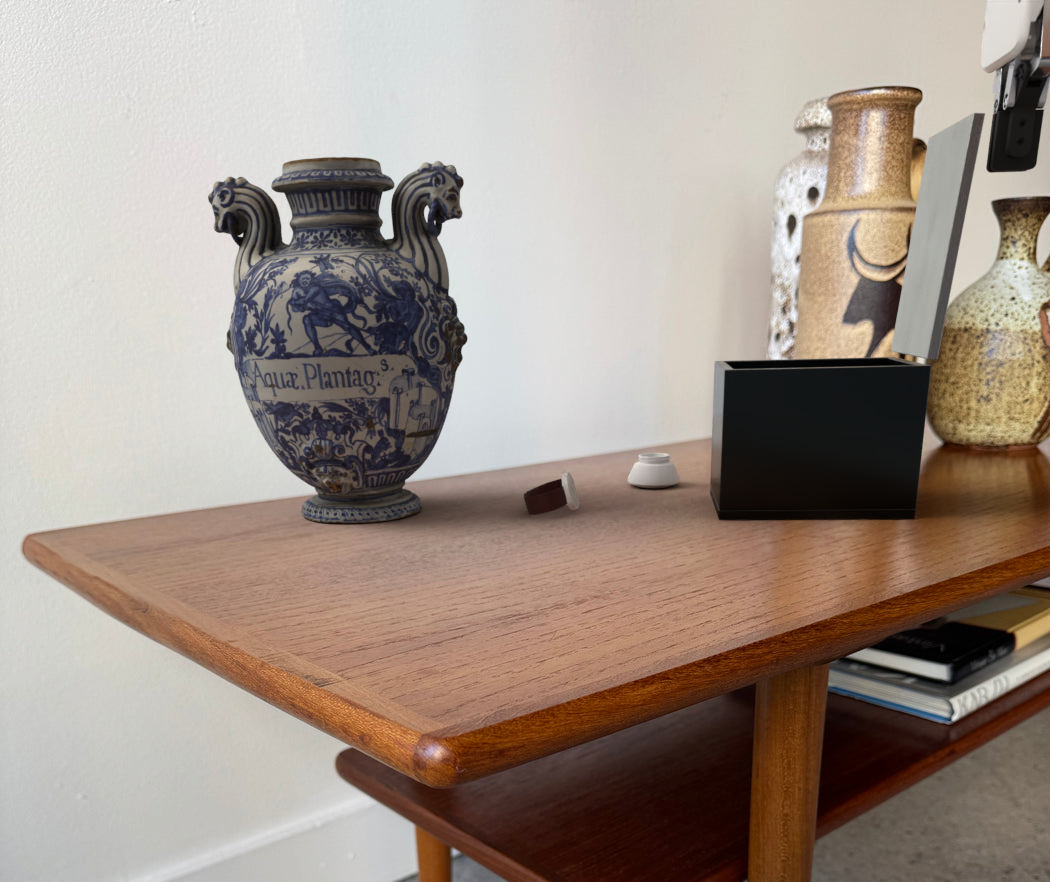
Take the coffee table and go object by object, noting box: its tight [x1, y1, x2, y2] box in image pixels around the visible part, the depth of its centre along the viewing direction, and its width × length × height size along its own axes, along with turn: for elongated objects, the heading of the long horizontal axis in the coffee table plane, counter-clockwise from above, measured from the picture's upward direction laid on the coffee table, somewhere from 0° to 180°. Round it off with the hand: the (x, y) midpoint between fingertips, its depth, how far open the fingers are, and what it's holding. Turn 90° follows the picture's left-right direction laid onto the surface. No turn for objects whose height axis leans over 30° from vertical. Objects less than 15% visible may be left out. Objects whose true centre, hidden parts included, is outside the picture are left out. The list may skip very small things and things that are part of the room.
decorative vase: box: [207, 156, 468, 524], centre depth 88 cm, size 21×19×28 cm
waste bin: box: [709, 356, 932, 521], centre depth 88 cm, size 16×13×12 cm
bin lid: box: [890, 112, 986, 361], centre depth 82 cm, size 17×13×1 cm
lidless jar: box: [627, 452, 680, 489], centre depth 102 cm, size 5×3×5 cm
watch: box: [523, 469, 579, 516], centre depth 91 cm, size 8×5×4 cm, turn 168°
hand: (1010, 170), depth 80 cm, fingers closed
